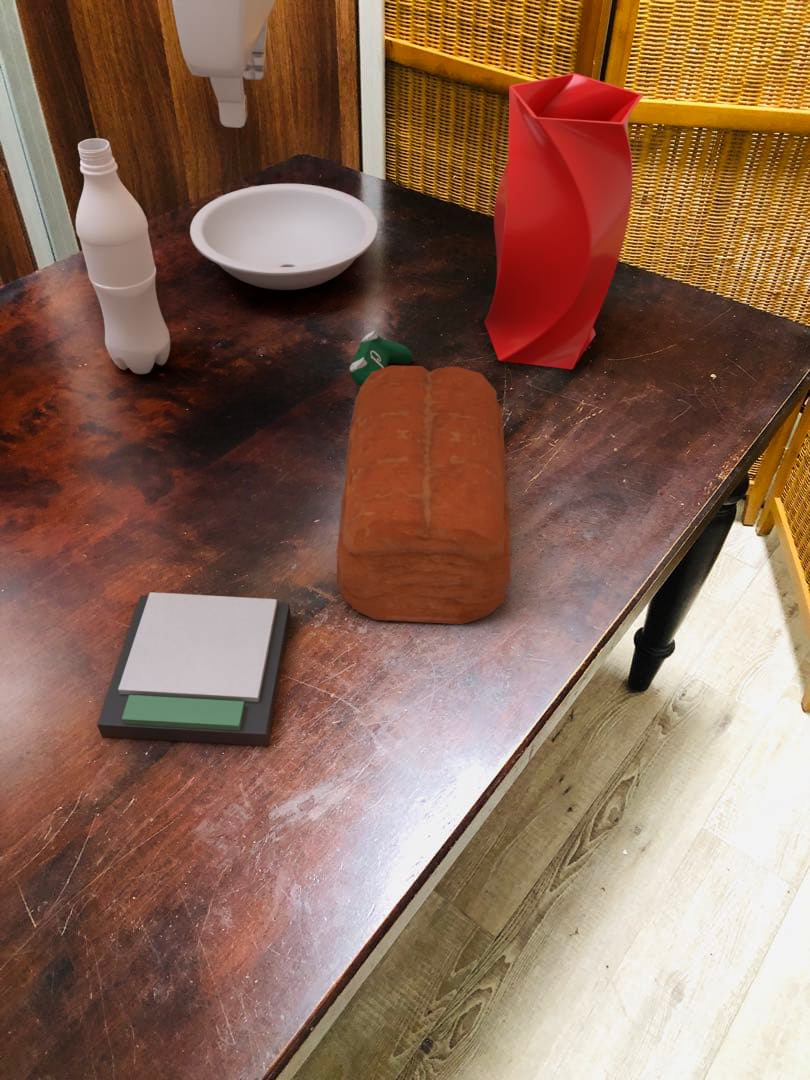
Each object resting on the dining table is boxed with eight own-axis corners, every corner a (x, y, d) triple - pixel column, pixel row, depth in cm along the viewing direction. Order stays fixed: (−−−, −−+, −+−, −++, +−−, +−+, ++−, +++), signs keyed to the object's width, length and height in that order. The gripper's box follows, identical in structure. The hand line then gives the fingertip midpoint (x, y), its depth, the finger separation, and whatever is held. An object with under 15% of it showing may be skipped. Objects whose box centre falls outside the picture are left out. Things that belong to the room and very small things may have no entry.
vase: (466, 354, 106) (488, 111, 85) (493, 294, 115) (518, 62, 95) (592, 378, 103) (645, 133, 83) (608, 314, 113) (660, 81, 92)
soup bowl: (158, 279, 115) (149, 232, 111) (278, 212, 129) (274, 167, 125) (300, 342, 106) (297, 293, 102) (412, 262, 120) (414, 216, 115)
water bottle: (98, 370, 101) (39, 152, 83) (133, 338, 106) (84, 124, 88) (152, 385, 100) (103, 166, 82) (185, 352, 104) (146, 137, 86)
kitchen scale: (101, 737, 69) (94, 719, 67) (144, 607, 78) (138, 589, 76) (267, 746, 68) (265, 729, 67) (291, 616, 77) (289, 597, 76)
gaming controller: (394, 369, 106) (359, 334, 104) (417, 353, 104) (381, 317, 101) (377, 416, 100) (339, 380, 97) (401, 400, 98) (363, 363, 95)
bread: (497, 433, 96) (507, 350, 88) (509, 628, 77) (524, 545, 69) (353, 427, 96) (352, 344, 88) (332, 620, 77) (328, 537, 69)
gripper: (207, -156, 64) (227, 50, 74) (140, -93, 50) (175, 151, 60) (293, -151, 64) (301, 55, 74) (250, -87, 50) (267, 156, 60)
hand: (245, 99), depth 67 cm, fingers open, 8 cm apart
